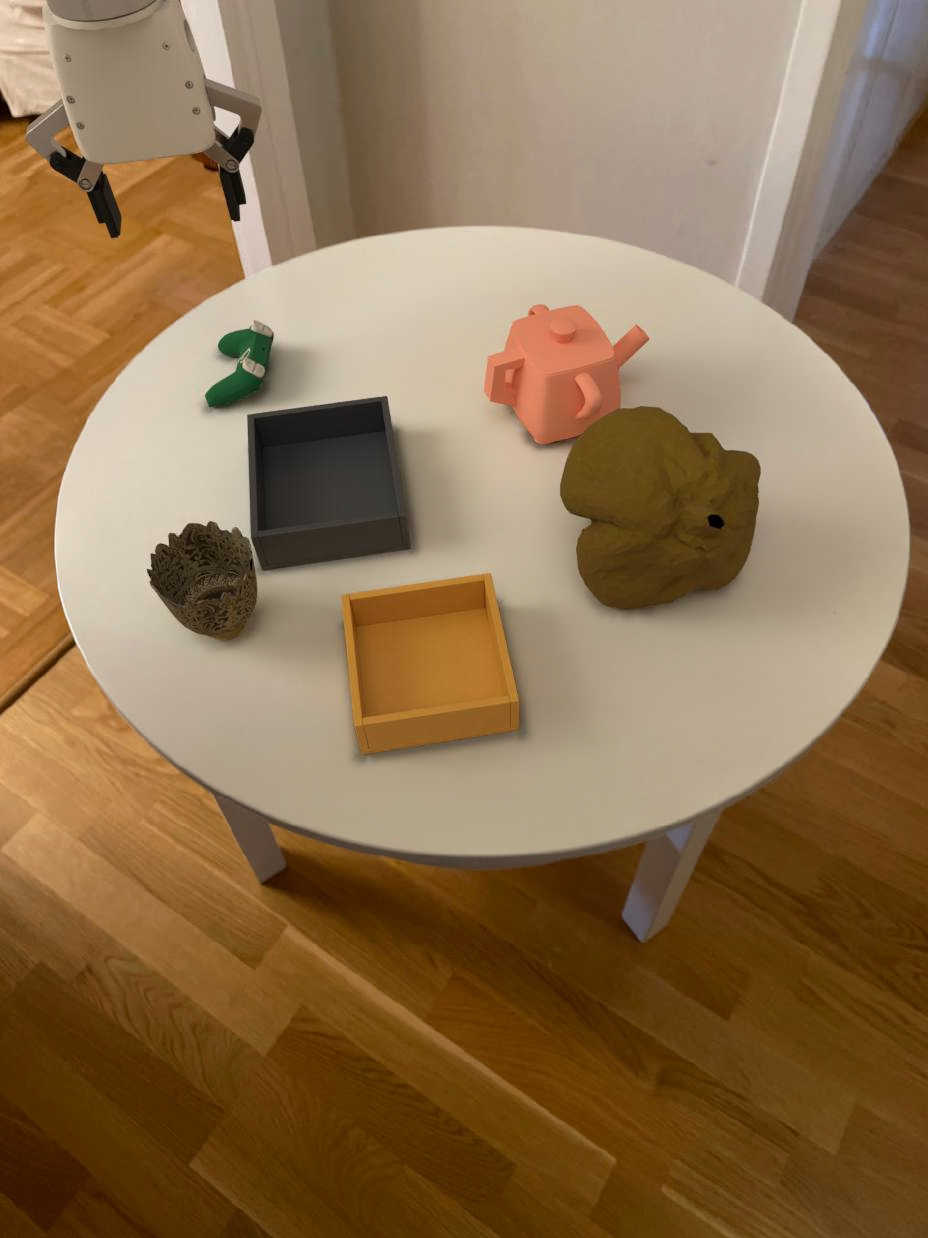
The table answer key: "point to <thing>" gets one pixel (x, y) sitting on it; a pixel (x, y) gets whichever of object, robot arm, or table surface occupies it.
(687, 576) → the olive-brown lumpy blob
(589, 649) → the table surface
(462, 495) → the table surface
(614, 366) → the teapot
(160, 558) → the cup
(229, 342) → the gaming controller
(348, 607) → the ochre bin
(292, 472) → the charcoal bin
